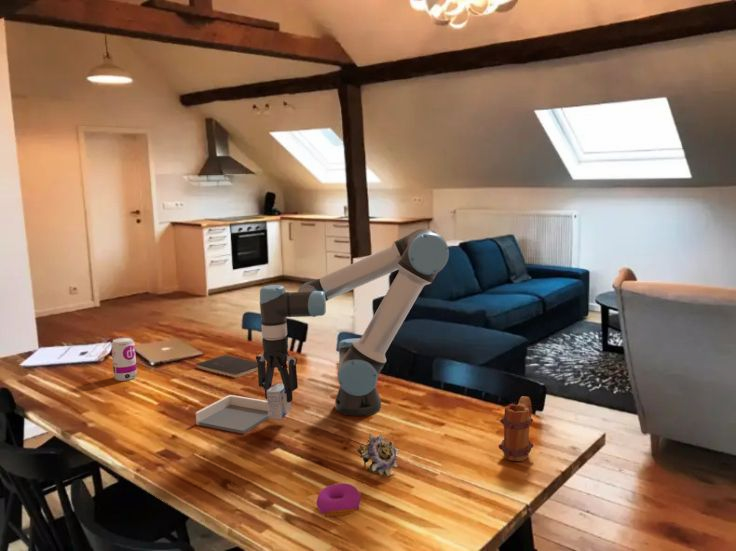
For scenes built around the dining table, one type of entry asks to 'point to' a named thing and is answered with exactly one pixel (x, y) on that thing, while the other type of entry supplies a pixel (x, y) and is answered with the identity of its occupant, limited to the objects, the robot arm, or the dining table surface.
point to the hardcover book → (229, 366)
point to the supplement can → (124, 359)
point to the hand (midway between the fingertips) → (279, 410)
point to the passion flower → (379, 454)
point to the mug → (517, 430)
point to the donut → (338, 500)
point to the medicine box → (276, 402)
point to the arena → (233, 414)
